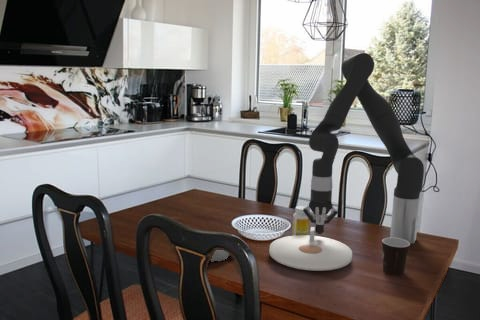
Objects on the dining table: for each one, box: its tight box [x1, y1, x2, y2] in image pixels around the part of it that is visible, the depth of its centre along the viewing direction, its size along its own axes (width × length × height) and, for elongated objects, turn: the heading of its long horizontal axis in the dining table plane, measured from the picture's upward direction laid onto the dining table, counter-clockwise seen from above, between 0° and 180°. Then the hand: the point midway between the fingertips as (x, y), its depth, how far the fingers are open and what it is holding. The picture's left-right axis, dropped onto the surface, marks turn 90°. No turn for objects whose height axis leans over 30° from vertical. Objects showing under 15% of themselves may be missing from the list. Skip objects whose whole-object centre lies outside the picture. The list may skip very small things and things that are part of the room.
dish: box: [210, 250, 229, 263], centre depth 166 cm, size 14×14×5 cm
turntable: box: [269, 226, 353, 272], centre depth 165 cm, size 28×28×5 cm
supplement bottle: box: [291, 205, 310, 236], centre depth 187 cm, size 6×6×11 cm
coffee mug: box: [381, 237, 411, 277], centre depth 154 cm, size 12×9×10 cm
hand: (319, 233), depth 175 cm, fingers closed
